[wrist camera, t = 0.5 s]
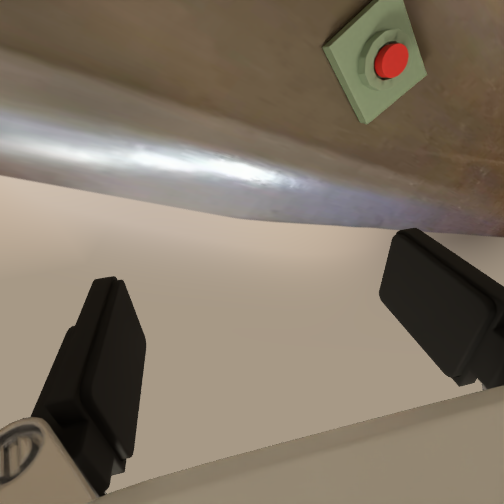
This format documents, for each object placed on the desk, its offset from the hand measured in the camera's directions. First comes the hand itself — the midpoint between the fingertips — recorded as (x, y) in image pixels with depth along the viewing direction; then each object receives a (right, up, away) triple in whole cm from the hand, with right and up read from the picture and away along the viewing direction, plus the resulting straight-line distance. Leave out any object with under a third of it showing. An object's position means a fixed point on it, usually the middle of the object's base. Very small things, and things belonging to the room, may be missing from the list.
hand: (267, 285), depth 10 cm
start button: (+17, +26, +27) cm, 41 cm away
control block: (+16, +28, +30) cm, 44 cm away
